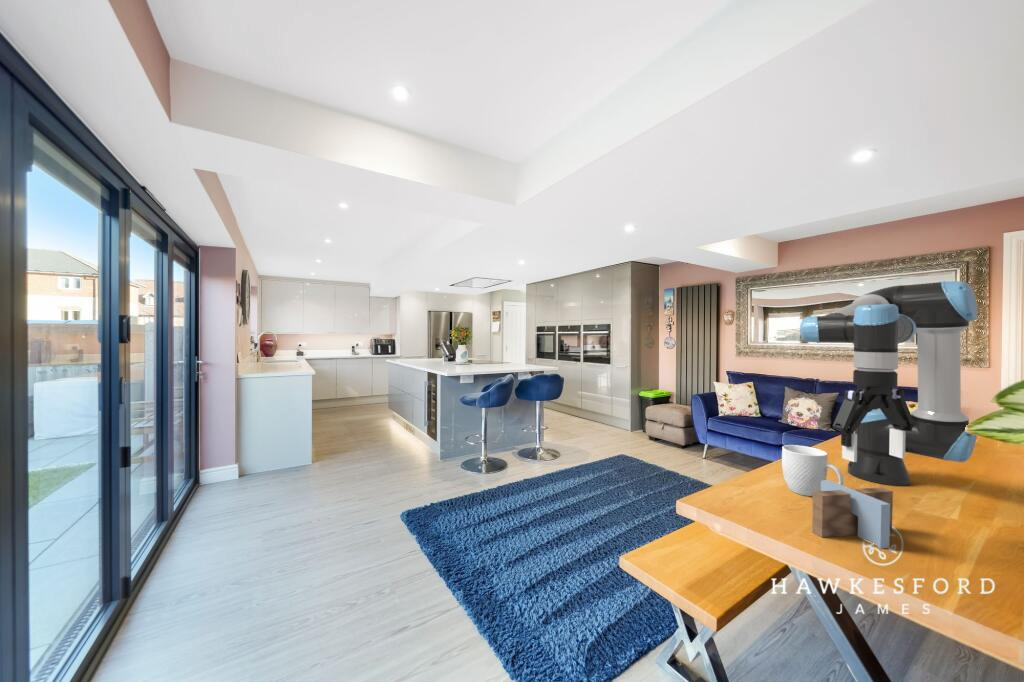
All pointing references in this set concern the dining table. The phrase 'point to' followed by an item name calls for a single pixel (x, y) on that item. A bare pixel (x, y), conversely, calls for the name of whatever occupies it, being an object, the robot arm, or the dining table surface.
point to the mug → (805, 469)
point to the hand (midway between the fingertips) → (873, 458)
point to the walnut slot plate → (841, 511)
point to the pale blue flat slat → (866, 514)
